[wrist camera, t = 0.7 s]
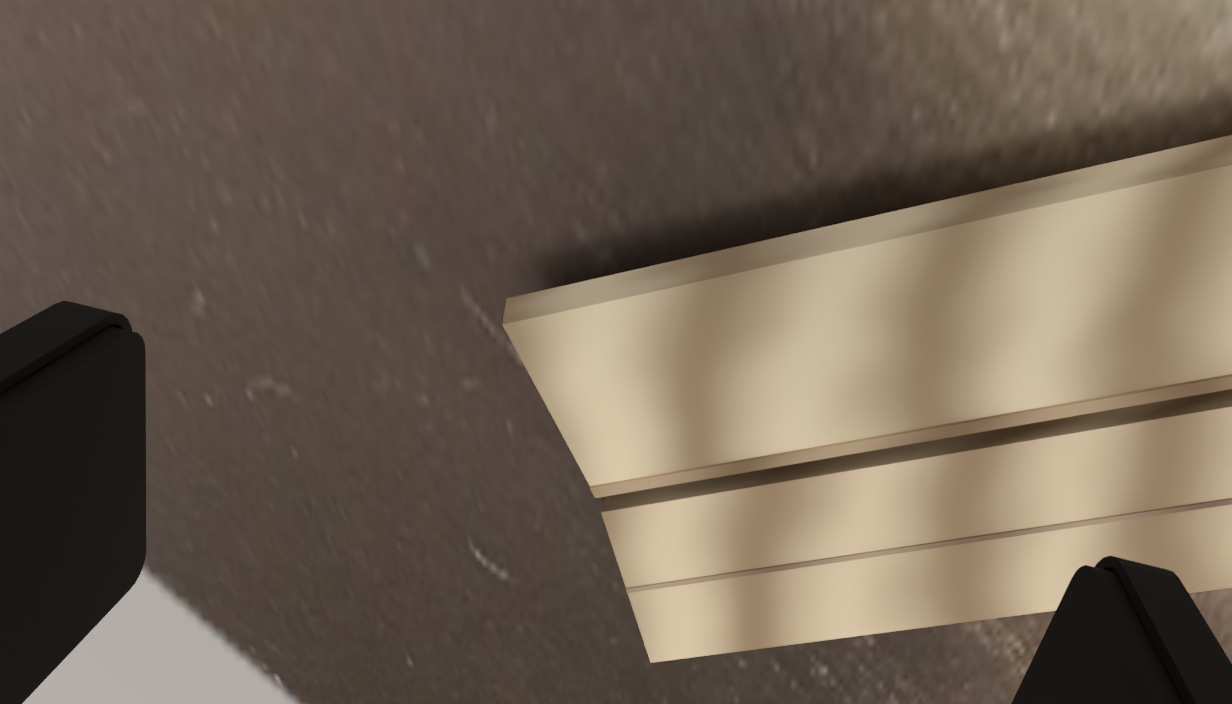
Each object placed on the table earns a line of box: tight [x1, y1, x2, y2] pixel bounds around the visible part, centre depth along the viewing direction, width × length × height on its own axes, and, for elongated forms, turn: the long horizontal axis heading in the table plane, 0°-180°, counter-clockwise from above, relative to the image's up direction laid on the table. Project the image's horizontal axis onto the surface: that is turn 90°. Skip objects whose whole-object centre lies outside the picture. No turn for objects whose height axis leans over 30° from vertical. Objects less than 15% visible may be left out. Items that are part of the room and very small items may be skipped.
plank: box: [502, 135, 1232, 498], centre depth 31 cm, size 26×9×1 cm, turn 106°
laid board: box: [601, 389, 1232, 663], centre depth 36 cm, size 26×7×1 cm, turn 106°
